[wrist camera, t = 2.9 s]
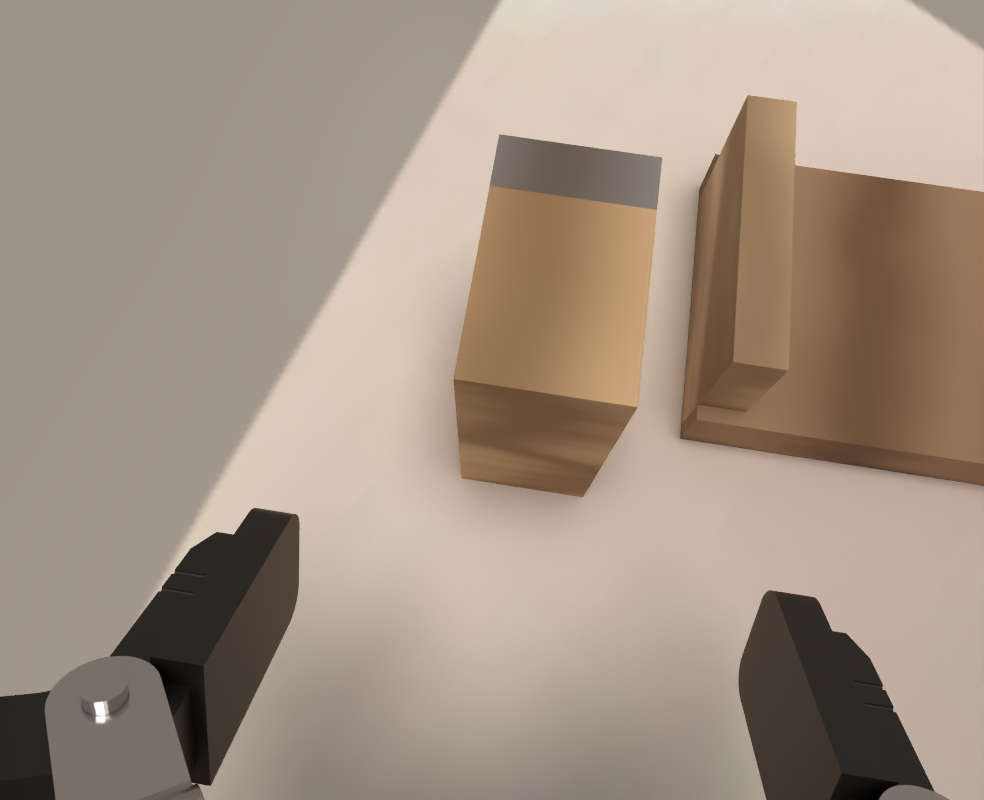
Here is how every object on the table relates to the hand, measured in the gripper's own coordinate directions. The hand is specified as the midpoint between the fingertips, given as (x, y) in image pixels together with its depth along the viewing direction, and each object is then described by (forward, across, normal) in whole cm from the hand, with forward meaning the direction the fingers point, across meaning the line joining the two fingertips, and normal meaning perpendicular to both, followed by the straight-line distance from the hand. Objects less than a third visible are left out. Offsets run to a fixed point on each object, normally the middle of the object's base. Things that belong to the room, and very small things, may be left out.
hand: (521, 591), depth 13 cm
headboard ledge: (+16, -11, -1) cm, 20 cm away
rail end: (+13, 0, +3) cm, 13 cm away
